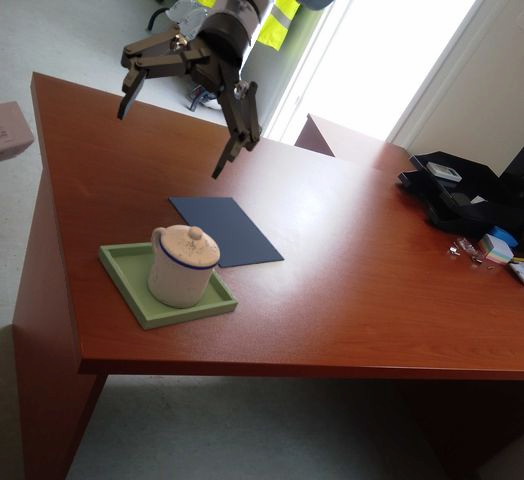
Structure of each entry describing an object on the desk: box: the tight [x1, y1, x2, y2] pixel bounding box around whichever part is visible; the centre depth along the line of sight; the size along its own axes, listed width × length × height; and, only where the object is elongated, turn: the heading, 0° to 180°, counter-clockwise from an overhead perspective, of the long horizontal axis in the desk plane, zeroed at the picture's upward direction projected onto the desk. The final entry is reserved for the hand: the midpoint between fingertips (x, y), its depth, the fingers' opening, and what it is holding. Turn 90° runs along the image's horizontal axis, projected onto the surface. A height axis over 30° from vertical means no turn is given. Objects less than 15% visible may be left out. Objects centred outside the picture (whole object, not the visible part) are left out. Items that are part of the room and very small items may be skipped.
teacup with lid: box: [148, 224, 220, 308], centre depth 68 cm, size 12×9×12 cm
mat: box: [167, 196, 285, 269], centre depth 90 cm, size 20×16×1 cm
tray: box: [97, 241, 239, 331], centre depth 72 cm, size 16×17×2 cm
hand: (170, 144), depth 59 cm, fingers open, 13 cm apart
